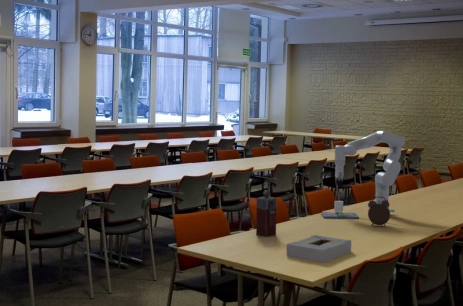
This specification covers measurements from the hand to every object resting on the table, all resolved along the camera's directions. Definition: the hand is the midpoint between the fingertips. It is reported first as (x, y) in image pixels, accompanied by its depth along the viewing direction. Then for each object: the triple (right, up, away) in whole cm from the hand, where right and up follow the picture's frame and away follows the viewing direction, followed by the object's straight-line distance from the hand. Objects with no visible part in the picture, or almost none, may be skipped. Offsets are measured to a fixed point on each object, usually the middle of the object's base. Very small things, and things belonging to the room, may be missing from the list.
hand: (339, 185), depth 453 cm
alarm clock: (+20, -26, -37) cm, 49 cm away
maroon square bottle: (-57, -27, -69) cm, 93 cm away
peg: (0, -21, -2) cm, 21 cm away
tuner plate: (0, -22, -3) cm, 23 cm away
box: (-31, -32, -116) cm, 124 cm away
